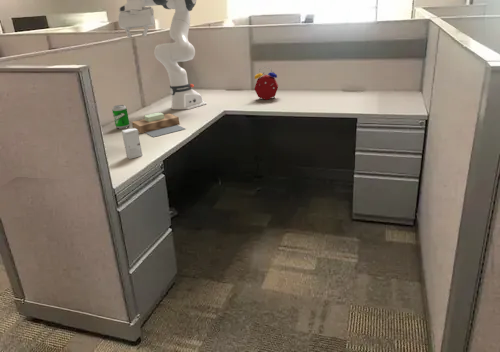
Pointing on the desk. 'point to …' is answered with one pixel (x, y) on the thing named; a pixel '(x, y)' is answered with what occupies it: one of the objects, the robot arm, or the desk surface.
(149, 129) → the brown wooden flat block
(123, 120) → the soda can
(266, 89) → the alarm clock
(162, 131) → the mat
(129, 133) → the skincare box
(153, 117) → the mint green box
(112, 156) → the desk surface
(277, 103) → the desk surface
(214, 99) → the desk surface
